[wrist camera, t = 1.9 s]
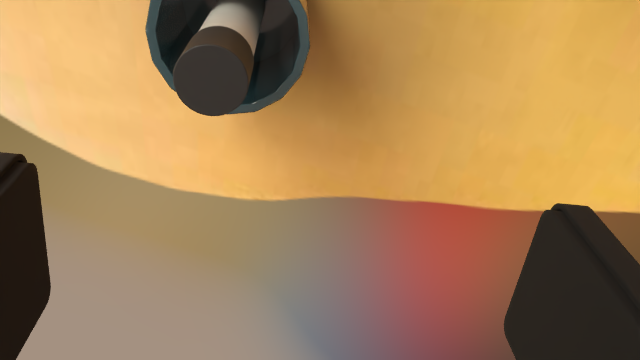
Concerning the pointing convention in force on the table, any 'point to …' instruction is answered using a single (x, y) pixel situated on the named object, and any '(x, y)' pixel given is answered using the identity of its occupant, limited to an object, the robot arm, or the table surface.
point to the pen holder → (270, 53)
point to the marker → (220, 58)
